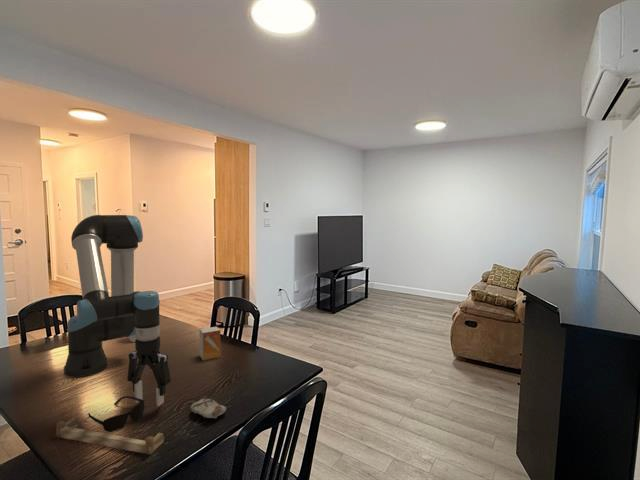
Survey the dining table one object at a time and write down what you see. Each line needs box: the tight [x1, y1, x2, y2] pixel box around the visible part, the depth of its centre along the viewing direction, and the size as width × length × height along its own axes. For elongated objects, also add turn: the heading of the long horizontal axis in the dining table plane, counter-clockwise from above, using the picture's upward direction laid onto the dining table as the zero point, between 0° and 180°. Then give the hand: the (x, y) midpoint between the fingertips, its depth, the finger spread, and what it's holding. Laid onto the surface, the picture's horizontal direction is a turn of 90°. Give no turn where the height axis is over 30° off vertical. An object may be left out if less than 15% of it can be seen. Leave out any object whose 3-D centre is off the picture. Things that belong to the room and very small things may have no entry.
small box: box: [199, 326, 221, 362], centre depth 158 cm, size 8×6×13 cm
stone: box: [190, 397, 227, 419], centre depth 113 cm, size 12×9×3 cm
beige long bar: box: [56, 417, 165, 456], centre depth 100 cm, size 32×6×4 cm, turn 77°
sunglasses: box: [88, 395, 145, 433], centre depth 111 cm, size 14×16×5 cm
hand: (149, 402), depth 117 cm, fingers open, 8 cm apart
